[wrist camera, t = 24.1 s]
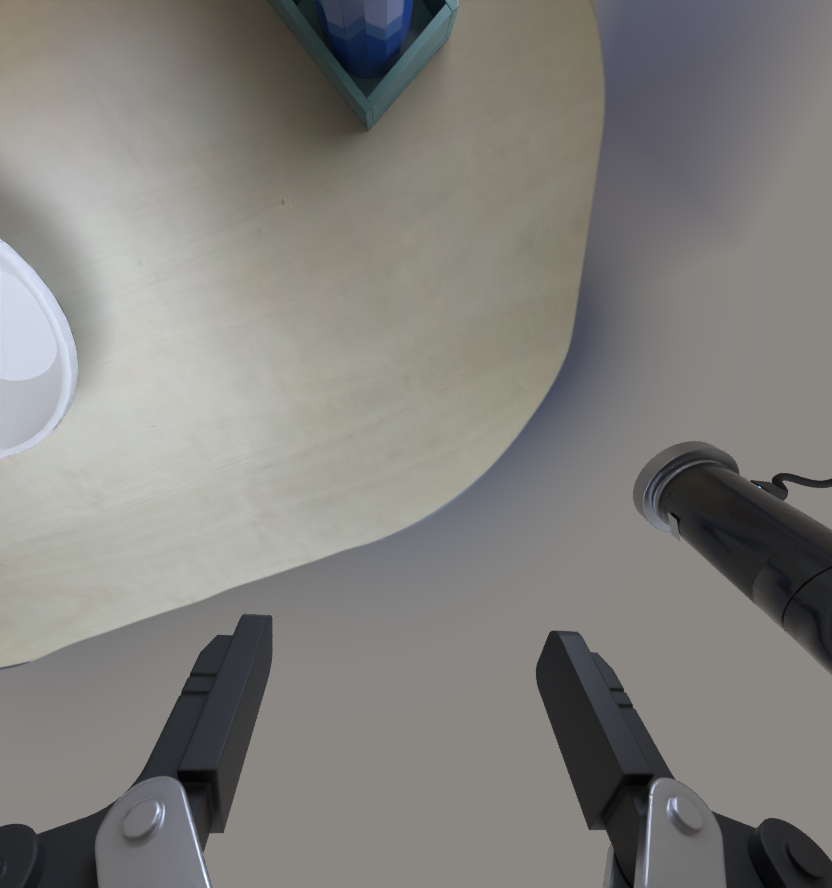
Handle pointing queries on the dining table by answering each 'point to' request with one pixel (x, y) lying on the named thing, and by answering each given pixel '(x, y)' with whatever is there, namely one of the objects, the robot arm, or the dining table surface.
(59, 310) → the bowl
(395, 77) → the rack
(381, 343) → the dining table surface
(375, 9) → the cup
